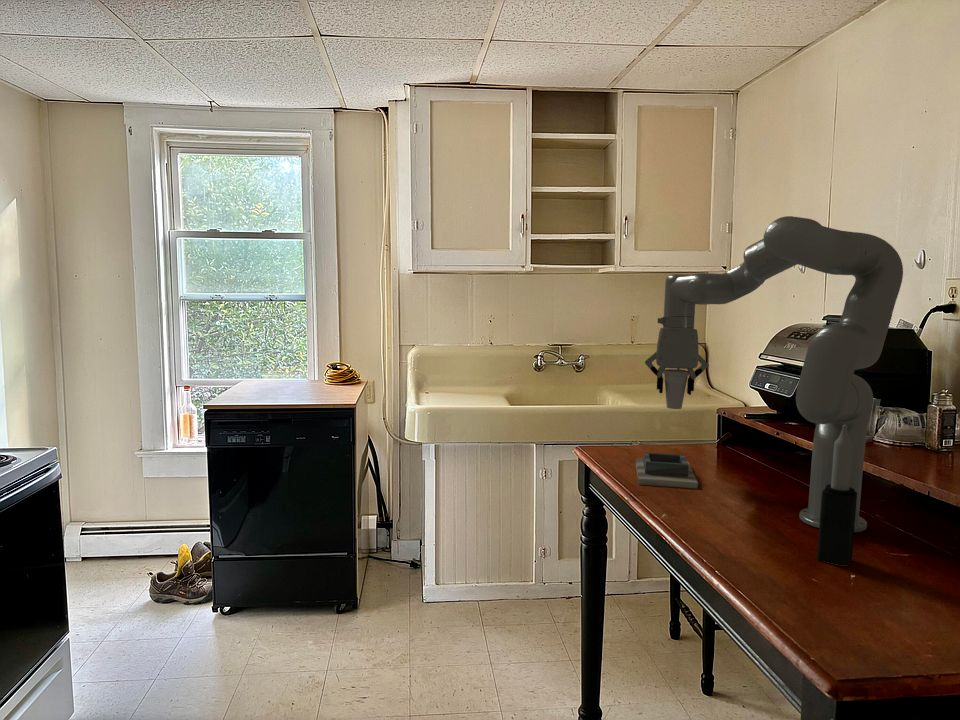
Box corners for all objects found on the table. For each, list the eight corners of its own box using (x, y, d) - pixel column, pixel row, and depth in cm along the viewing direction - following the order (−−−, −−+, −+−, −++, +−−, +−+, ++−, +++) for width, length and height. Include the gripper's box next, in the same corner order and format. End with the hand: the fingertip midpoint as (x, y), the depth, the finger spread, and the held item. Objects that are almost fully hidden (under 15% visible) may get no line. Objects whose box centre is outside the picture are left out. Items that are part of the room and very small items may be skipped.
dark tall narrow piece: (822, 551, 126) (832, 420, 123) (852, 559, 122) (864, 424, 119) (815, 560, 122) (826, 424, 119) (846, 568, 118) (858, 429, 116)
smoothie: (690, 410, 169) (693, 355, 168) (664, 409, 170) (667, 354, 168) (683, 405, 176) (686, 352, 174) (658, 405, 176) (661, 351, 174)
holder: (697, 488, 164) (698, 470, 163) (638, 484, 166) (639, 466, 166) (688, 467, 183) (688, 450, 183) (635, 463, 186) (636, 447, 185)
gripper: (644, 323, 168) (640, 393, 170) (716, 325, 165) (712, 397, 167) (643, 321, 176) (639, 389, 178) (712, 323, 172) (708, 392, 174)
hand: (674, 392), depth 172 cm, fingers closed on smoothie, 6 cm apart
